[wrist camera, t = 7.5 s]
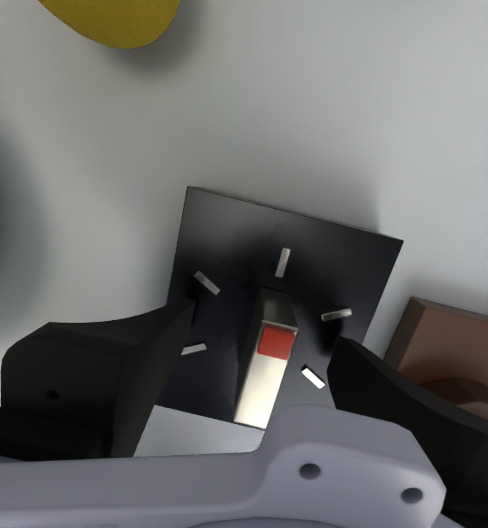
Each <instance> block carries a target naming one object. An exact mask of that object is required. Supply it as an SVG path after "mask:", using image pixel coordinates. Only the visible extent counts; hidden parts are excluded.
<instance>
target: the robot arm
mask: <svg viewBox="0 0 488 528" xmlns="http://www.w3.org/2000/svg"><path fill="white" fill-rule="evenodd" d="M195 303H196V301H195V300H191V299H187V298H182V299H179V300H177V301H175V302H173V303H170V304H168V305H166V306H163V307H161V308H158V309H156V310H153V311H150V312H147V313H144V314H141V315H138V316H133V317H129V318H125V319H118V320H111V321H104V322H91V323H57V322H48V323H47V324H45V325H43V326H42V327H40V328H39V329H37V330H35V331H34V332H32V333H30V334H29V335H27V336H26V337H24V338H22V339H21V340H19V341H18V342H16V343H15V344H14V345H12V346H11V347H10V348H9V349H8V350H7V352H6V353H5V355H4V357H3V359H2V365H1V407H0V528H488V420H486V419H484V418H482V417H479V416H477V415H475V414H473V413H470V412H468V411H466V410H464V409H462V408H460V407H458V406H456V405H454V404H452V403H450V402H448V401H446V400H444V399H442V398H441V397H439V396H437V395H435V394H433V393H432V392H430V391H428V390H426V389H425V388H423V387H421V386H420V385H418V384H416V383H415V382H413V381H412V380H410V379H409V378H407V377H406V376H404V375H403V374H401V373H400V372H398V371H397V370H395V369H394V368H393V367H391V366H390V365H388V364H387V363H386V362H384V361H383V360H382V359H380V358H379V357H377V356H376V355H375V354H373V353H372V352H371V351H369V350H368V349H367V348H365V347H364V346H362V345H361V344H360V343H358V342H356V341H355V340H353V339H350V338H346V337H342V336H339V338H338V341H337V344H336V346H335V349H334V352H333V354H332V357H331V359H330V362H329V365H328V367H327V370H326V373H327V379H328V384H329V389H330V392H331V395H332V398H333V401H334V404H335V407H336V409H333V408H329V407H325V406H321V405H317V404H292V405H290V406H288V407H286V408H283V409H281V410H279V411H277V412H276V413H275V415H274V416H273V418H272V419H271V420H270V422H269V423H268V425H267V427H266V430H265V433H264V436H263V439H262V442H261V444H260V446H259V447H258V449H257V450H255V451H252V452H243V453H220V454H197V455H174V456H151V457H133V455H134V453H135V450H136V448H137V445H138V443H139V440H140V438H141V436H142V433H143V431H144V428H145V426H146V424H147V421H148V419H149V416H150V414H151V412H152V409H153V407H154V405H155V402H156V400H157V398H158V396H159V394H160V392H161V390H162V388H163V387H164V385H165V383H166V381H167V380H168V378H169V376H170V374H171V372H172V371H173V369H174V367H175V365H176V363H177V362H178V360H179V358H180V356H181V354H182V352H183V349H184V347H185V344H186V342H187V339H188V336H189V331H190V326H191V322H192V317H193V312H194V307H195Z"/></svg>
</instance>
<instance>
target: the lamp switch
mask: <svg viewBox="0 0 488 528" xmlns="http://www.w3.org/2000/svg"><path fill="white" fill-rule="evenodd" d="M383 361H384V362H386V363H387V364H388V365H390V366H391V367H393V368H394V369H395V370H397V371H398V372H400V373H401V374H403V375H404V376H406V377H407V378H409V379H410V380H412V381H413V382H415V383H416V384H418V385H420V386H421V387H423V388H425V389H426V390H428V391H430V392H432V393H433V394H435V395H437V396H439V397H441V398H442V399H444V400H446V401H448V402H450V403H452V404H454V405H456V406H458V407H460V408H462V409H464V410H466V411H468V412H470V413H473V414H475V415H477V416H479V417H482V418H484V419H486V420H488V316H486V315H482V314H478V313H474V312H470V311H466V310H462V309H458V308H454V307H450V306H446V305H442V304H438V303H434V302H430V301H425V300H421V299H417V298H413V297H412V298H411V299H410V301H409V304H408V306H407V308H406V310H405V313H404V315H403V317H402V319H401V322H400V324H399V326H398V329H397V331H396V333H395V335H394V338H393V340H392V342H391V344H390V347H389V349H388V351H387V353H386V356H385V358H384V360H383Z"/></svg>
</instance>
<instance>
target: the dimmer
mask: <svg viewBox="0 0 488 528" xmlns="http://www.w3.org/2000/svg"><path fill="white" fill-rule="evenodd" d="M403 242H404V241H403V240H400V239H397V238H394V237H391V236H388V235H385V234H382V233H378V232H374V231H370V230H366V229H362V228H358V227H354V226H350V225H347V224H343V223H339V222H335V221H331V220H327V219H323V218H319V217H315V216H311V215H307V214H303V213H299V212H295V211H291V210H287V209H283V208H279V207H275V206H271V205H267V204H263V203H259V202H255V201H251V200H247V199H244V198H240V197H236V196H232V195H228V194H224V193H220V192H216V191H212V190H208V189H204V188H200V187H191V186H188V187H187V191H186V196H185V202H184V208H183V213H182V219H181V224H180V230H179V235H178V241H177V247H176V252H175V258H174V263H173V269H172V274H171V280H170V286H169V291H168V297H167V302H166V305H168V304H170V303H173V302H175V301H177V300H179V299H182V298H187V299H191V300H195V301H196V303H195V307H194V312H193V317H192V322H191V326H190V331H189V336H188V339H187V342H186V344H185V347H184V349H183V352H182V354H181V356H180V358H179V360H178V362H177V363H176V365H175V367H174V369H173V371H172V372H171V374H170V376H169V378H168V380H167V381H166V383H165V385H164V387H163V388H162V390H161V392H160V394H159V396H158V398H157V400H156V402H155V405H158V406H162V407H166V408H171V409H175V410H179V411H183V412H188V413H192V414H196V415H200V416H204V417H209V418H213V419H217V420H221V421H226V422H230V423H234V424H238V425H242V426H247V427H251V428H255V429H259V430H263V431H265V430H266V429H263V428H259V427H255V426H250V425H246V424H242V423H238V422H234V421H233V413H234V404H235V394H236V385H237V375H238V366H239V363H240V359H241V355H242V352H243V348H244V345H245V341H246V337H247V334H248V330H249V326H250V323H251V319H252V316H253V312H254V308H255V305H256V301H257V298H258V294H259V290H260V288H262V287H263V288H267V289H271V290H275V291H279V292H283V293H287V294H288V295H289V298H290V302H291V305H292V308H293V311H294V314H295V318H296V321H297V324H298V327H299V332H298V335H297V338H296V341H295V344H294V347H293V350H292V353H291V356H290V359H289V362H288V365H287V368H286V371H285V374H284V377H283V380H282V383H281V386H280V389H279V392H278V395H277V398H276V401H275V404H274V407H273V410H272V413H271V416H270V419H269V422H270V420H271V419H272V418H273V416H274V415H275V413H276V412H277V411H279V410H281V409H283V408H286V407H288V406H290V405H292V404H317V405H321V406H325V407H329V408H333V409H335V408H336V407H335V404H334V401H333V398H332V395H331V392H330V389H329V384H328V379H327V373H326V370H327V367H328V365H329V362H330V359H331V357H332V354H333V352H334V349H335V346H336V344H337V341H338V338H339V336H342V337H346V338H350V339H353V340H355V341H356V342H358V343H360V344H361V345H362V342H363V340H364V337H365V335H366V333H367V330H368V328H369V325H370V323H371V320H372V318H373V316H374V313H375V311H376V308H377V306H378V303H379V301H380V298H381V296H382V294H383V291H384V289H385V286H386V284H387V281H388V279H389V276H390V274H391V272H392V269H393V267H394V264H395V262H396V259H397V257H398V255H399V252H400V250H401V247H402V245H403ZM269 422H268V423H269Z"/></svg>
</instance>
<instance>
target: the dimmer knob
mask: <svg viewBox="0 0 488 528" xmlns="http://www.w3.org/2000/svg"><path fill="white" fill-rule="evenodd" d="M298 332H299V327H298V324H297V321H296V318H295V314H294V311H293V308H292V305H291V302H290V298H289V295H288V294H287V293H283V292H279V291H275V290H271V289H267V288H263V287H262V288H260V290H259V294H258V298H257V301H256V305H255V308H254V312H253V316H252V319H251V323H250V326H249V330H248V334H247V337H246V341H245V345H244V348H243V352H242V355H241V359H240V363H239V366H238V375H237V385H236V394H235V404H234V413H233V421H234V422H238V423H242V424H246V425H250V426H255V427H259V428H263V429H266V427H267V425H268V422H269V419H270V416H271V413H272V410H273V407H274V404H275V401H276V398H277V395H278V392H279V389H280V386H281V383H282V380H283V377H284V374H285V371H286V368H287V365H288V362H289V359H290V356H291V353H292V350H293V347H294V344H295V341H296V338H297V335H298Z"/></svg>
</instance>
